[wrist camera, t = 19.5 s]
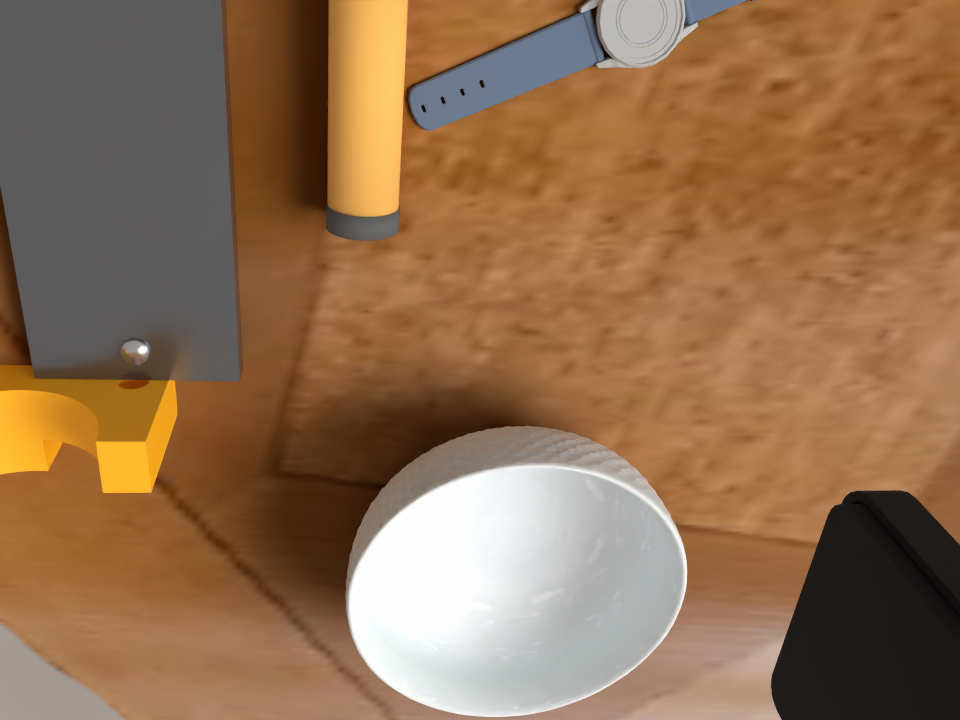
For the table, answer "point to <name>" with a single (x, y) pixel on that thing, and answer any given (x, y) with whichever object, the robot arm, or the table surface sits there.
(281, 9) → the table surface
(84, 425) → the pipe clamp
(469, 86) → the wristwatch
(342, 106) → the handle
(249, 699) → the table surface
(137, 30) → the mounting plate
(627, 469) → the cereal bowl
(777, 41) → the table surface
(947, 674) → the robot arm
